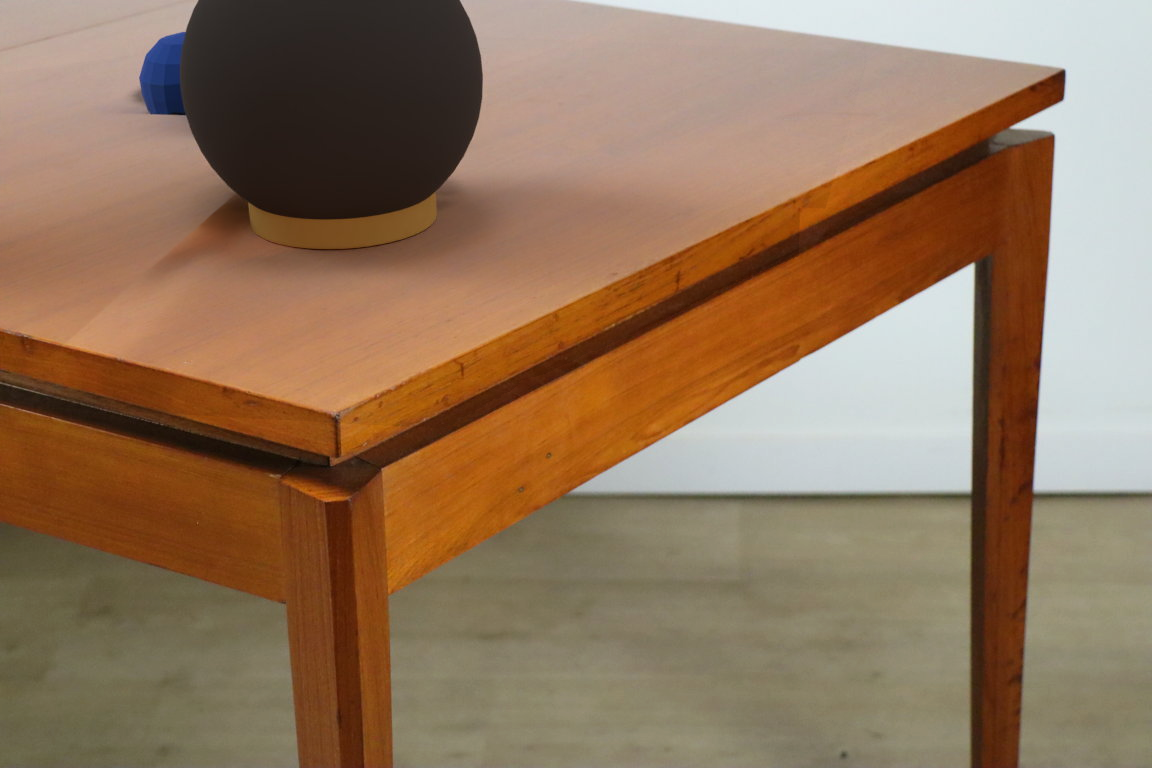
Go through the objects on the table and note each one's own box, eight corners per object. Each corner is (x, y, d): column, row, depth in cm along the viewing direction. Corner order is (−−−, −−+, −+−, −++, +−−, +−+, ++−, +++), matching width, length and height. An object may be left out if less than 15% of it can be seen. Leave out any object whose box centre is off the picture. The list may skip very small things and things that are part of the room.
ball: (151, 266, 69) (108, -60, 63) (254, 176, 81) (226, -102, 75) (454, 278, 67) (439, -56, 61) (511, 185, 79) (503, -100, 73)
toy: (330, 153, 86) (226, 91, 97) (324, 45, 83) (217, -6, 94) (217, 174, 83) (123, 107, 94) (206, 61, 80) (110, 6, 91)
